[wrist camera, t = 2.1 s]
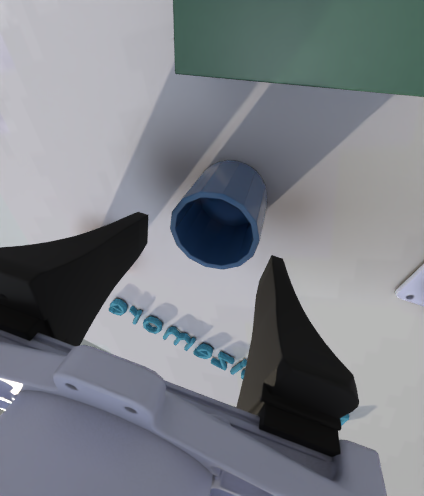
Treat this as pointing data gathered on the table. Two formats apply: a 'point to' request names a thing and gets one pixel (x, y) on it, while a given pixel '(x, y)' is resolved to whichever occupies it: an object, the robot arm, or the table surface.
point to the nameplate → (201, 351)
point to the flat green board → (304, 42)
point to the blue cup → (221, 216)
